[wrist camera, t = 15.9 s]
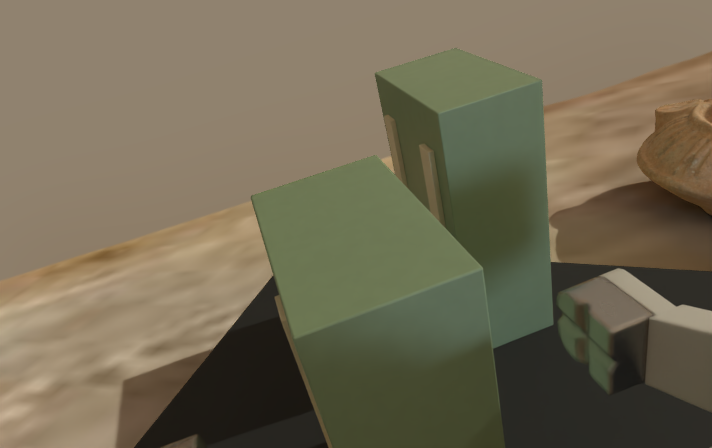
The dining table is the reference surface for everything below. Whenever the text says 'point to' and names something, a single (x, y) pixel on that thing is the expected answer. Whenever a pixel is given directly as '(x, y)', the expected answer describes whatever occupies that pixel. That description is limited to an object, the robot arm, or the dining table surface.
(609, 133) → the dining table surface
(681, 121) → the pottery oil lamp
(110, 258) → the dining table surface
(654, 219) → the dining table surface
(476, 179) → the letter H
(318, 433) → the word mat
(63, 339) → the dining table surface
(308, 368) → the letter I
